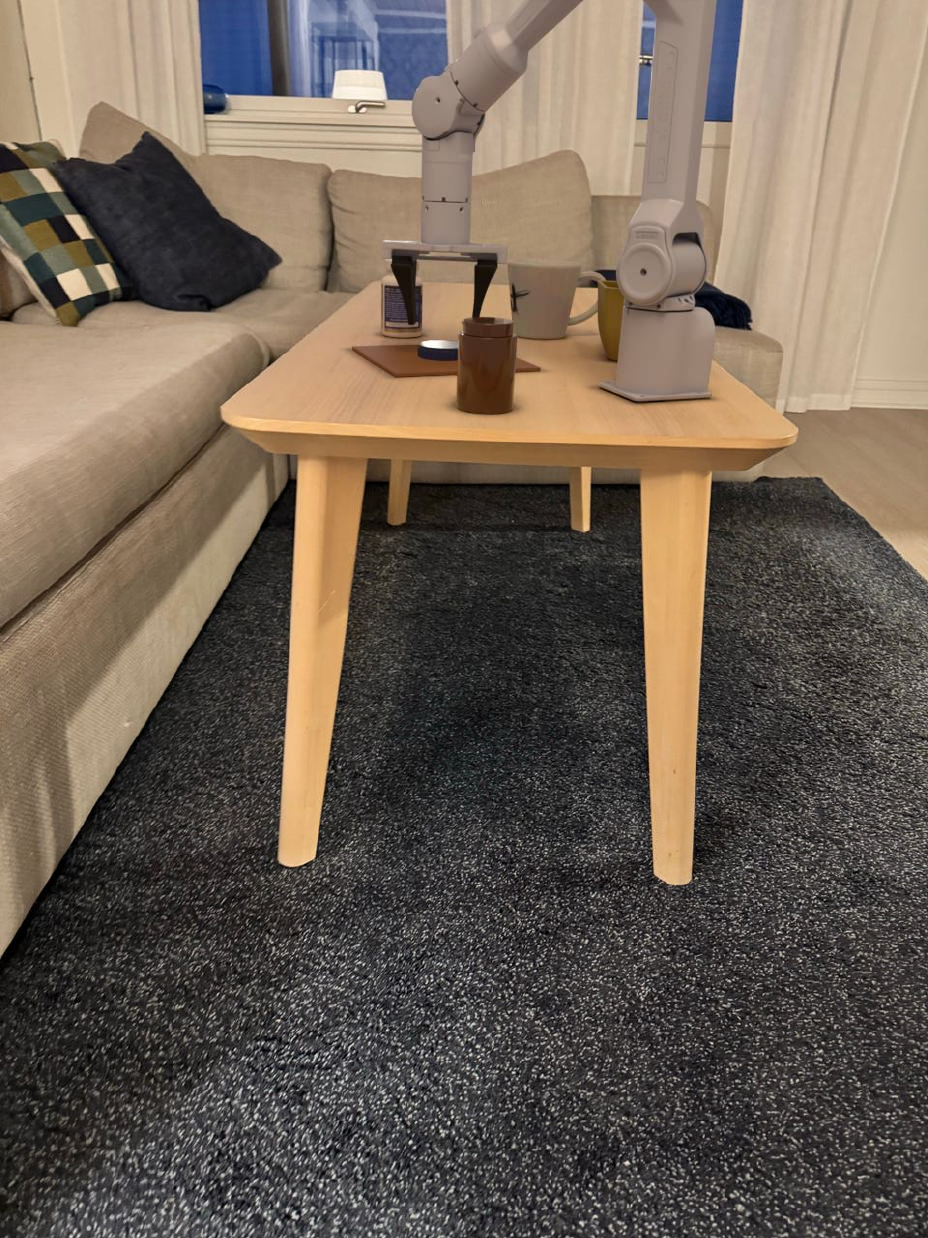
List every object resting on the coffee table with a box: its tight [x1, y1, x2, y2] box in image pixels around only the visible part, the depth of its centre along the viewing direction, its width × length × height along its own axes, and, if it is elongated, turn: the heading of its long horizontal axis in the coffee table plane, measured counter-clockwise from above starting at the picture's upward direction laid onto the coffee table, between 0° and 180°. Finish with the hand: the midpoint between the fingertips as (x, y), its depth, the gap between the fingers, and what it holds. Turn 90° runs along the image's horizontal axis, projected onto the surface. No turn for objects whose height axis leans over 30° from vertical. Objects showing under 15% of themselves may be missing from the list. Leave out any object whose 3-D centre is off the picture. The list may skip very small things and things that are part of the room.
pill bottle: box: [380, 259, 424, 339], centre depth 125 cm, size 6×6×10 cm
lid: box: [418, 339, 458, 361], centre depth 111 cm, size 6×6×1 cm
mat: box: [351, 343, 542, 378], centre depth 111 cm, size 18×18×1 cm
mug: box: [506, 258, 607, 340], centre depth 130 cm, size 10×15×10 cm
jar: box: [455, 316, 518, 415], centre depth 87 cm, size 6×6×8 cm
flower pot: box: [597, 280, 625, 362], centre depth 115 cm, size 9×9×9 cm
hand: (443, 325), depth 110 cm, fingers open, 7 cm apart
